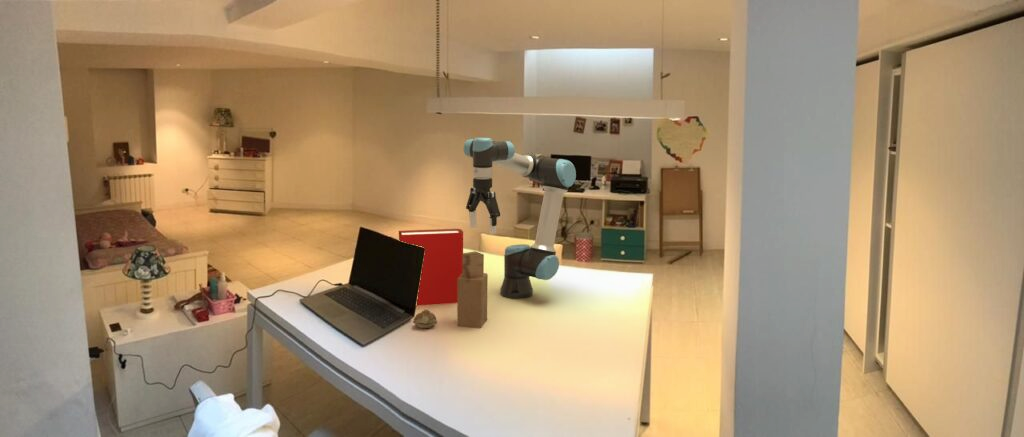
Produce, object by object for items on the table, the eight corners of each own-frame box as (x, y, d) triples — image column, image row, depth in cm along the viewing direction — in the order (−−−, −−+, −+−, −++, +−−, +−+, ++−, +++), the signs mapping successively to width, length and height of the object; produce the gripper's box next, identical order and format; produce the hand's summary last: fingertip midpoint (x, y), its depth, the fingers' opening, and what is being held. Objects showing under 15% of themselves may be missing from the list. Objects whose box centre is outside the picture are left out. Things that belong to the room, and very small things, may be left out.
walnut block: (462, 275, 250) (462, 253, 248) (475, 272, 254) (475, 251, 252) (471, 278, 246) (471, 256, 244) (483, 276, 249) (483, 254, 247)
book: (401, 306, 271) (400, 234, 265) (400, 300, 279) (398, 230, 273) (463, 302, 278) (463, 232, 272) (460, 296, 286) (460, 228, 279)
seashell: (437, 331, 246) (435, 322, 254) (438, 314, 244) (436, 306, 252) (414, 332, 244) (411, 323, 251) (414, 315, 242) (412, 307, 249)
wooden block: (481, 328, 248) (481, 280, 244) (457, 326, 250) (457, 278, 246) (487, 319, 258) (487, 273, 254) (463, 317, 260) (464, 271, 256)
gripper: (457, 174, 252) (457, 226, 256) (493, 182, 232) (493, 237, 237) (472, 173, 256) (473, 223, 261) (509, 180, 237) (509, 235, 241)
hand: (482, 230), depth 249 cm, fingers open, 13 cm apart
